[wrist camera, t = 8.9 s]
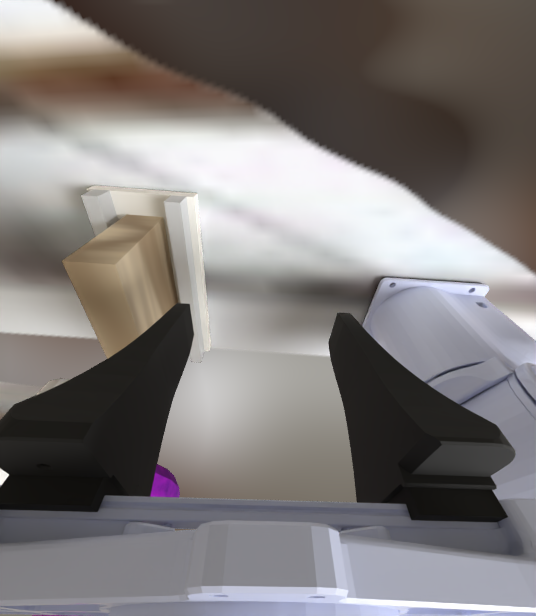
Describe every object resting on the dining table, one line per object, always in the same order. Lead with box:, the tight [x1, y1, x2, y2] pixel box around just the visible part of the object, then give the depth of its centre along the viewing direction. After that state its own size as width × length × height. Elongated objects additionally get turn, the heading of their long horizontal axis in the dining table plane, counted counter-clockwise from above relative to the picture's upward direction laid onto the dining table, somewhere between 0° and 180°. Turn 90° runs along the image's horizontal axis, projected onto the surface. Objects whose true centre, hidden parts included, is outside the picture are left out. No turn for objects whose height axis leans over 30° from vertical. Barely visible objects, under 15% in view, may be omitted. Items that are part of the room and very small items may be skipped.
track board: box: [81, 185, 211, 363], centre depth 21 cm, size 7×15×2 cm, turn 176°
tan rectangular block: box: [62, 214, 178, 359], centre depth 19 cm, size 2×12×7 cm, turn 176°
